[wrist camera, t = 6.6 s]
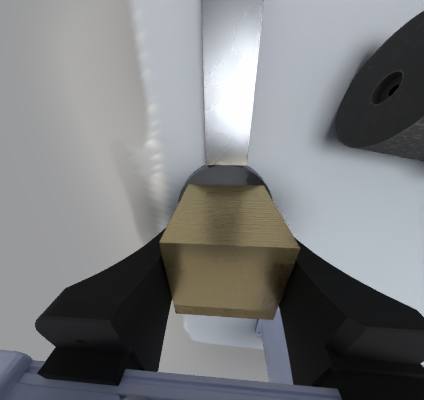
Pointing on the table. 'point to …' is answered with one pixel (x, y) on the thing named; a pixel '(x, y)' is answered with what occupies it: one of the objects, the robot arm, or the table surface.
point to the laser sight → (388, 98)
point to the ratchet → (229, 90)
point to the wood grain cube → (228, 252)
